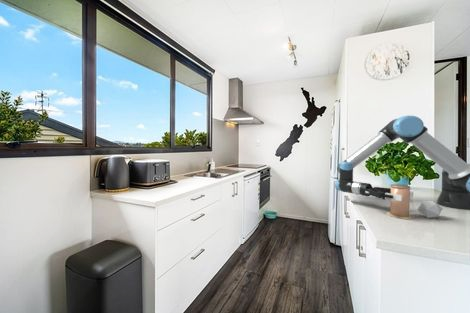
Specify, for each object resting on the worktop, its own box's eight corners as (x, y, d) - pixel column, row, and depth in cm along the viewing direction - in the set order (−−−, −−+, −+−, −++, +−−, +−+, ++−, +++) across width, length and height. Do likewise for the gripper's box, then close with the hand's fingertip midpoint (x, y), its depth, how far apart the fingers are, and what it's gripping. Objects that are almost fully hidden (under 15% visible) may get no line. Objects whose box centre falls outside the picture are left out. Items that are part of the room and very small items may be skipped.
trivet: (412, 214, 102) (412, 213, 102) (416, 220, 93) (416, 219, 93) (385, 210, 108) (385, 209, 108) (386, 216, 99) (386, 215, 99)
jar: (408, 213, 101) (409, 185, 101) (410, 218, 95) (411, 187, 94) (389, 211, 106) (389, 183, 105) (390, 215, 99) (391, 186, 99)
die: (445, 222, 91) (449, 204, 94) (426, 213, 93) (431, 195, 95) (428, 222, 99) (432, 206, 102) (411, 213, 100) (416, 197, 103)
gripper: (372, 192, 122) (417, 200, 104) (350, 198, 109) (396, 207, 91) (372, 180, 122) (417, 186, 103) (350, 184, 109) (396, 192, 91)
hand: (407, 196), depth 97 cm, fingers open, 13 cm apart
